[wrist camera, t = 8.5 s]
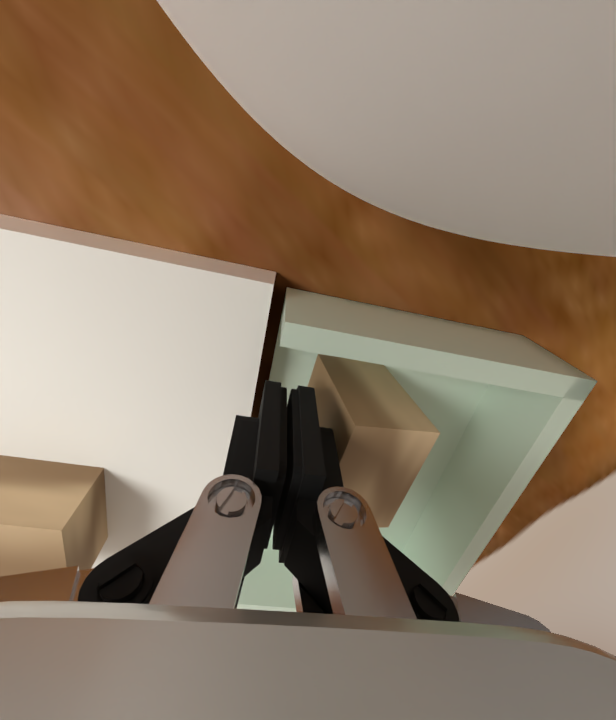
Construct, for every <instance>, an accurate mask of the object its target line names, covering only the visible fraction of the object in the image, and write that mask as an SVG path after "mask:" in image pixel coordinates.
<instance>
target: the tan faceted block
mask: <svg viewBox="0 0 616 720" xmlns="http://www.w3.org/2000/svg"><path fill="white" fill-rule="evenodd" d="M308 387H312V388H314V389H315V397H316V404H317V411H318V419H319V426H320V427H325V428H331V429H332V430H333V433H334V438H335V443H336V449H337V454H338V459H339V465H340V470H341V475H342V481H343V486H344V487H345V488H348V489H351V490H353V491H355V492H356V493H358V494H359V495H361V496H362V497H363V498H364V499H365V500H366V502H367V503H368V505H369V507H370V508H371V511H372V513H373V515H374V518H375V520H376V523H377V525H378V527H379V528H382V527H389V525H390V523H391V521H392V520H393V518H394V516H395V514H396V512H397V511H398V509H399V507H400V505H401V503H402V502H403V500H404V498H405V496H406V494H407V493H408V491H409V489H410V487H411V485H412V483H413V482H414V480H415V478H416V476H417V474H418V473H419V471H420V469H421V467H422V465H423V464H424V462H425V460H426V458H427V456H428V455H429V453H430V451H431V449H432V447H433V445H434V444H435V442H436V440H437V438H438V436H439V435H440V432H439V431H438V430H437V428H436V427H435V426H434V425H433V424H432V422H431V421H430V420H429V419H428V418H427V416H426V415H425V414H424V413H423V412H422V410H421V409H420V408H419V407H418V405H417V404H416V403H415V402H414V401H413V399H412V398H411V397H410V396H409V395H408V393H407V392H406V391H405V390H404V389H403V387H402V386H401V385H400V384H399V383H398V381H397V380H396V379H395V378H394V377H393V375H392V374H391V373H390V372H389V371H388V369H387V368H386V367H385V366H384V365H380V364H375V363H369V362H364V361H358V360H353V359H347V358H342V357H335V356H329V355H322V354H318V355H317V358H316V361H315V365H314V368H313V371H312V374H311V377H310V380H309V383H308Z"/></svg>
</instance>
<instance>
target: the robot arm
mask: <svg viewBox="0 0 616 720" xmlns="http://www.w3.org/2000/svg"><path fill="white" fill-rule="evenodd" d="M272 528H273V544H272V547H273V550H279V563H284V566H285V567H286V568H287V569H288V570H289V571H290V572H291V573H292V574H293V577H292V586H293V592H294V599H295V606H296V612H286V611H268V610H250V609H237V606H238V602H239V598H240V594H241V590H242V586H243V582H244V578H245V576H246V575H247V574H249V573H250V572H251V571H252V570H253V569H254V568H256V567H257V566H258V565H259V564H260V563H261V559H262V555H263V551H264V549H267V548H268V544H269V540H270V536H271V532H272ZM0 720H616V656H613V655H611V654H609V653H607V652H605V651H603V650H601V649H599V648H597V647H595V646H592V645H589V644H587V643H584V642H581V641H578V640H575V639H572V638H569V637H566V636H563V635H559V634H554V633H551V632H550V631H549V629H547V628H546V627H545V626H544V625H543V624H541V623H540V622H539V621H537V620H535V619H533V618H531V617H529V616H527V615H524V614H520V613H518V612H515V611H511V610H508V609H505V608H502V607H499V606H496V605H493V604H490V603H487V602H483V601H481V600H477V599H474V598H471V597H468V596H465V595H462V594H459V593H455V594H454V595H453V596H450V595H449V594H448V593H447V592H446V591H445V590H444V589H443V588H442V587H441V585H440V584H439V583H437V582H436V581H435V580H434V579H433V578H431V577H430V576H429V575H428V574H427V573H426V572H424V571H423V570H422V569H421V568H420V567H418V566H417V565H416V564H415V563H414V562H413V561H411V560H410V559H409V558H408V557H407V556H405V555H404V554H403V553H402V552H401V551H400V550H398V549H397V548H396V547H395V546H394V545H392V544H391V543H390V542H389V541H388V540H387V539H385V538H384V537H383V536H382V535H381V532H380V530H379V527H378V525H377V523H376V520H375V518H374V515H373V513H372V511H371V508H370V507H369V505H368V503H367V502H366V500H365V499H364V498H363V497H362V496H361V495H359V494H358V493H356V492H355V491H353V490H351V489H348V488H345V487H344V486H343V481H342V475H341V470H340V465H339V459H338V454H337V449H336V443H335V438H334V433H333V430H332V429H331V428H325V427H320V426H319V419H318V411H317V404H316V397H315V389H314V388H312V387H306V386H300V385H298V387H297V389H291V391H290V395H289V400H288V404H287V388H285V387H281V382H274V381H268V380H265V384H264V389H263V395H262V400H261V405H260V411H259V416H258V418H254V417H247V416H240V415H236V418H235V422H234V427H233V431H232V436H231V440H230V445H229V450H228V454H227V459H226V463H225V468H224V472H223V475H222V476H220V477H217V478H215V479H213V480H212V481H211V482H209V483H208V484H207V485H206V487H205V488H204V489H203V491H202V493H201V495H200V497H199V499H198V502H197V504H196V506H195V507H194V508H192V509H190V510H189V511H187V512H185V513H184V514H182V515H180V516H178V517H177V518H175V519H173V520H172V521H170V522H168V523H166V524H165V525H163V526H161V527H160V528H158V529H156V530H155V531H153V532H151V533H149V534H148V535H146V536H144V537H143V538H141V539H139V540H137V541H136V542H134V543H132V544H131V545H129V546H127V547H126V548H124V549H122V550H120V551H119V552H117V553H115V554H114V555H112V556H110V557H108V558H107V559H105V560H104V561H103V562H101V563H100V564H99V565H97V566H96V567H95V568H92V569H85V570H79V566H72V567H65V568H57V569H50V570H43V571H36V572H29V573H22V574H15V575H8V576H1V577H0Z"/></svg>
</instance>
